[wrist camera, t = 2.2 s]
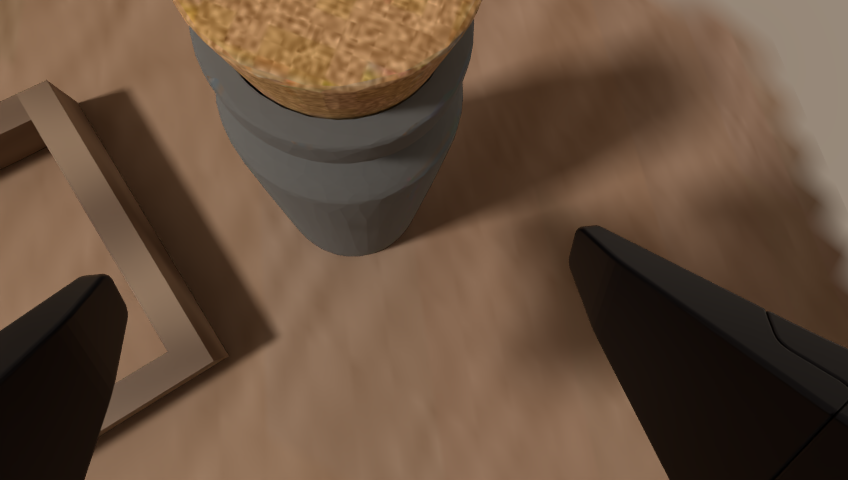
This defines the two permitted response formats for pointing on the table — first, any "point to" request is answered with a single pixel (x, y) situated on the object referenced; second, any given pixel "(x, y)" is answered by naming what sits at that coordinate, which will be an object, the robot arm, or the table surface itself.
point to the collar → (115, 242)
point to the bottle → (338, 104)
